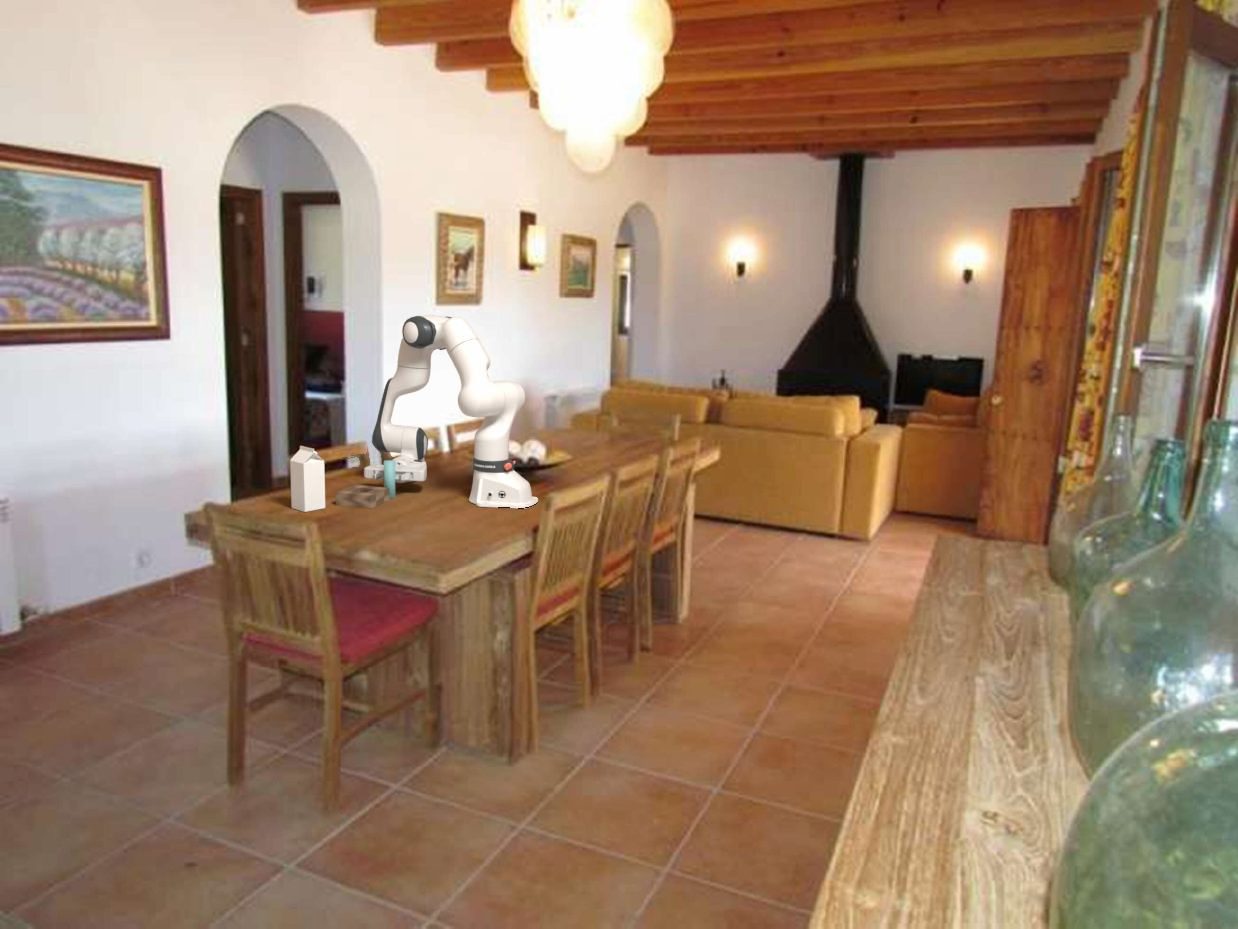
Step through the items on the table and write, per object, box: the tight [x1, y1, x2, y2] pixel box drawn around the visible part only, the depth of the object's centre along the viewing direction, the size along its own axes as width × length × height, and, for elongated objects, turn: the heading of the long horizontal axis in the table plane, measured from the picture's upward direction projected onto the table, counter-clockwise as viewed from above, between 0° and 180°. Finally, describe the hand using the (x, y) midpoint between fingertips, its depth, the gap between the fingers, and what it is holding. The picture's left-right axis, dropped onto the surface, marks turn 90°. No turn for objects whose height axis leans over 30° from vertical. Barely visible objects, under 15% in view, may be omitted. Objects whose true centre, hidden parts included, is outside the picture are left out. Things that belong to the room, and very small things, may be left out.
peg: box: [383, 459, 396, 499], centre depth 284 cm, size 4×4×12 cm
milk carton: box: [289, 445, 326, 513], centre depth 264 cm, size 7×7×19 cm
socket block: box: [335, 484, 390, 509], centre depth 276 cm, size 12×12×4 cm
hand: (388, 477), depth 283 cm, fingers open, 6 cm apart
